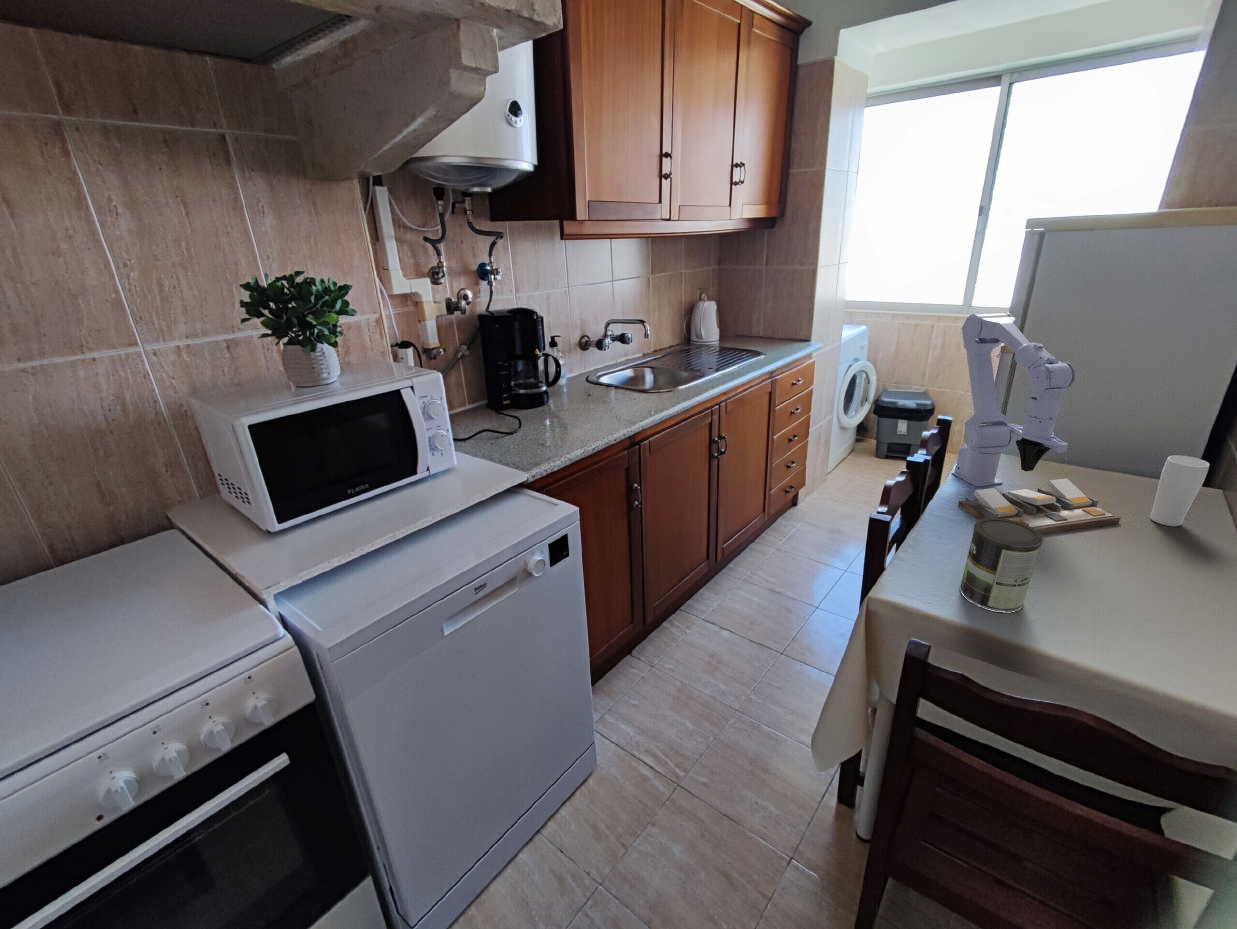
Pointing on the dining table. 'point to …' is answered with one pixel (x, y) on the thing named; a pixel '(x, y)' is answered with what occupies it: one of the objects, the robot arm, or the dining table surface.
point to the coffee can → (1000, 563)
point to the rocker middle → (1032, 497)
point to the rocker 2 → (1069, 492)
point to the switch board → (1046, 513)
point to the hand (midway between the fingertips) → (1026, 469)
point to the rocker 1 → (995, 502)
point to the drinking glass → (1178, 489)
